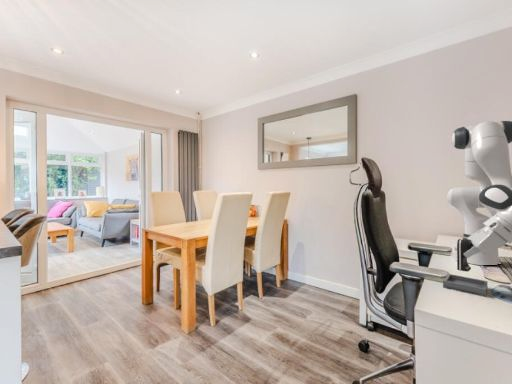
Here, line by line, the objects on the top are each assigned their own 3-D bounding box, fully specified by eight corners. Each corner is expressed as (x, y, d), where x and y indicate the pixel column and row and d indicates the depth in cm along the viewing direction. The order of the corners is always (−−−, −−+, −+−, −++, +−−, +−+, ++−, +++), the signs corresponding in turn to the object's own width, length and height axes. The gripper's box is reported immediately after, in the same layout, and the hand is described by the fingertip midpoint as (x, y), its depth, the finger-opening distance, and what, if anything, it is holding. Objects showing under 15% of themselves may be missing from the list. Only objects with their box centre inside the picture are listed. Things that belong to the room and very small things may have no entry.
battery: (470, 273, 88) (470, 241, 89) (456, 270, 91) (456, 239, 91) (474, 269, 93) (474, 239, 93) (461, 267, 96) (461, 237, 96)
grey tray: (448, 279, 100) (448, 273, 100) (487, 287, 92) (487, 281, 92) (443, 287, 92) (443, 280, 92) (485, 296, 84) (485, 289, 84)
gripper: (484, 220, 97) (452, 242, 103) (497, 225, 80) (459, 251, 86) (500, 233, 95) (466, 255, 100) (517, 241, 78) (476, 267, 83)
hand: (463, 253), depth 93 cm, fingers closed on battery, 7 cm apart
